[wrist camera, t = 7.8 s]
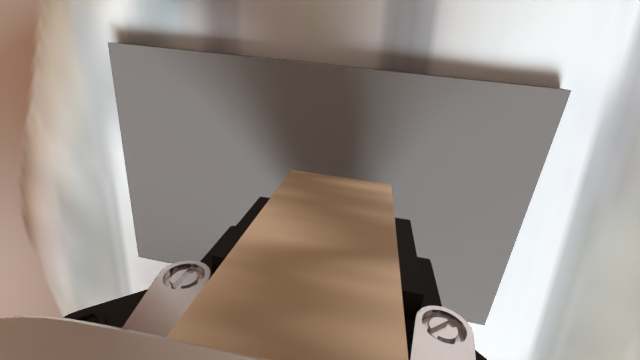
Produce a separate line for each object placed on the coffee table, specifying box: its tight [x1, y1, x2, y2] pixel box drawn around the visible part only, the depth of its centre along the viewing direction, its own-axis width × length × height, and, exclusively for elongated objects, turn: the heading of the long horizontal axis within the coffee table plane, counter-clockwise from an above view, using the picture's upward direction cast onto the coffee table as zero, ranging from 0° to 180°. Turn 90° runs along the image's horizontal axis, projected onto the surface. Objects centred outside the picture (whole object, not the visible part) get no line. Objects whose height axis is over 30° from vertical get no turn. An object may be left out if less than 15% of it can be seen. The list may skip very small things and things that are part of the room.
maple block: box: [167, 170, 408, 360], centre depth 9 cm, size 4×4×10 cm
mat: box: [108, 43, 571, 325], centre depth 17 cm, size 20×12×1 cm, turn 85°
